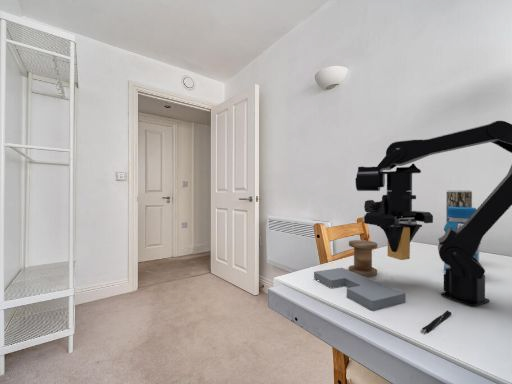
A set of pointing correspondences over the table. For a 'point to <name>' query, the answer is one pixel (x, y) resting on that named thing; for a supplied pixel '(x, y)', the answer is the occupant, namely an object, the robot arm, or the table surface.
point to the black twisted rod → (436, 322)
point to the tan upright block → (402, 246)
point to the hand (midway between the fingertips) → (398, 251)
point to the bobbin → (363, 258)
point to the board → (361, 288)
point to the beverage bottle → (459, 222)
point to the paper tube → (458, 200)
